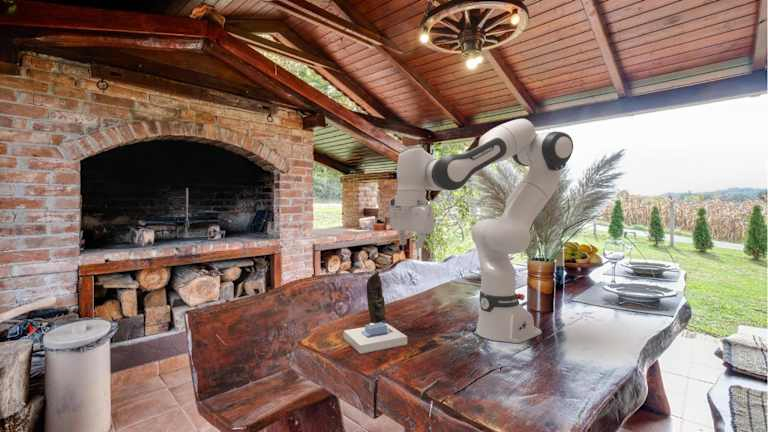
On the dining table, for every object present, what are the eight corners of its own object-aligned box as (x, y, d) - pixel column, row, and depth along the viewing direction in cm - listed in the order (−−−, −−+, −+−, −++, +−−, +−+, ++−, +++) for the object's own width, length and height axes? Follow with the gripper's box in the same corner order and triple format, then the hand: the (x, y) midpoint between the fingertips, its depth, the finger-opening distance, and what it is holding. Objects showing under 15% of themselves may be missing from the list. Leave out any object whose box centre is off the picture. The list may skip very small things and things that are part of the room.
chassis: (386, 330, 124) (386, 322, 124) (407, 344, 111) (407, 335, 111) (343, 338, 117) (343, 329, 117) (360, 353, 104) (360, 344, 104)
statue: (385, 328, 126) (385, 272, 125) (366, 326, 127) (366, 271, 127) (389, 322, 133) (389, 268, 132) (370, 320, 134) (370, 268, 134)
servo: (384, 336, 118) (384, 319, 118) (390, 340, 114) (390, 322, 114) (361, 341, 114) (361, 323, 114) (366, 345, 111) (366, 326, 110)
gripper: (439, 200, 101) (439, 249, 101) (403, 201, 119) (403, 242, 119) (421, 200, 98) (420, 250, 98) (386, 201, 116) (386, 243, 116)
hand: (410, 246), depth 109 cm, fingers open, 8 cm apart
